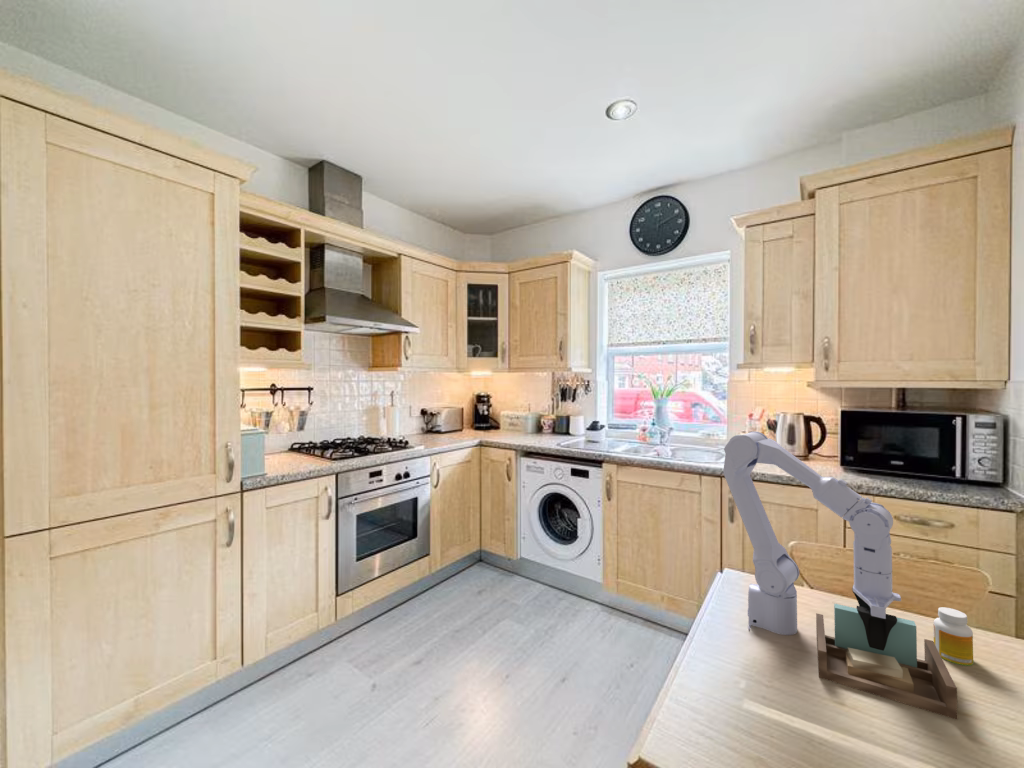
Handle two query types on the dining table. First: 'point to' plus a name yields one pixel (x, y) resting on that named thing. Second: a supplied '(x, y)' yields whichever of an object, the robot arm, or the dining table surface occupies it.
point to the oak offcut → (883, 677)
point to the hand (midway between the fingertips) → (873, 637)
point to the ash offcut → (875, 662)
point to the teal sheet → (854, 636)
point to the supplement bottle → (953, 636)
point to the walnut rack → (928, 679)
